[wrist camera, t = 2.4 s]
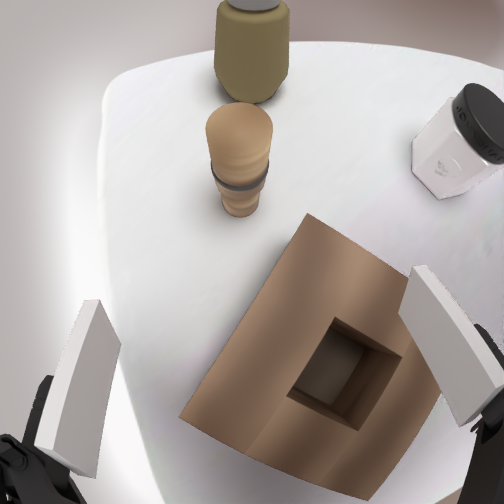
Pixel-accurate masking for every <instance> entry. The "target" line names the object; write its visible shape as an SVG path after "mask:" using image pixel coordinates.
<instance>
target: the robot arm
mask: <svg viewBox="0 0 504 504" xmlns="http://www.w3.org/2000/svg"><path fill="white" fill-rule="evenodd" d="M398 314H399V315H400V317H401V319H402V320H403V322H404V324H405V325H406V327H407V329H408V331H409V332H410V334H411V336H412V337H413V339H414V341H415V343H416V344H417V346H418V348H419V350H420V352H421V353H422V355H423V357H424V359H425V361H426V363H427V364H428V366H429V368H430V370H431V372H432V374H433V376H434V378H435V379H436V381H437V383H438V385H439V387H440V389H441V391H442V393H443V395H444V397H445V399H446V401H447V403H448V405H449V407H450V409H451V412H452V414H453V416H454V418H455V420H456V422H457V424H458V427H461V426H463V425H465V424H467V423H469V422H471V421H473V420H474V419H475V418H476V417H477V416H478V415H479V414H480V413H481V415H482V418H481V419H480V420H479V421H478V422H477V423H476V424H475V425H474V426H473V427H472V428H471V431H470V432H473V431H474V430H475V429H476V428H478V430H477V431H476V432H475V433H476V434H477V437H476V441H475V446H474V450H473V454H472V458H471V462H470V465H469V469H468V472H467V476H466V479H465V482H464V485H463V488H462V491H461V494H460V497H459V500H458V503H457V504H504V356H503V354H502V352H501V351H500V349H499V350H498V347H497V345H496V344H495V342H493V339H492V338H491V336H490V335H489V334H488V332H487V331H486V330H485V329H484V328H482V327H481V326H480V325H479V324H474V325H473V324H472V323H471V321H470V320H469V318H468V317H467V316H466V314H465V313H464V312H463V310H462V309H461V308H460V306H459V305H458V304H457V302H456V301H455V300H454V299H453V297H452V296H451V295H450V293H449V292H448V291H447V290H446V288H445V287H444V286H443V285H442V283H441V282H440V281H439V280H438V279H437V277H436V276H435V275H434V274H433V272H432V271H431V270H430V269H429V268H428V267H427V265H420V266H413V267H412V270H411V273H410V277H409V280H408V283H407V287H406V290H405V293H404V296H403V299H402V303H401V306H400V309H399V312H398ZM120 347H121V343H120V341H119V339H118V337H117V335H116V333H115V331H114V329H113V327H112V325H111V323H110V321H109V318H108V316H107V314H106V312H105V310H104V308H103V306H102V304H101V301H100V300H85V301H84V302H83V305H82V307H81V309H80V312H79V314H78V316H77V318H76V321H75V323H74V326H73V328H72V330H71V333H70V335H69V338H68V340H67V343H66V345H65V348H64V351H63V353H62V356H61V359H60V361H59V364H58V367H57V369H56V372H55V375H54V376H51V375H47V376H46V377H45V378H44V380H43V381H42V382H41V384H40V386H39V388H38V391H37V394H36V399H35V400H34V403H33V409H31V413H30V416H29V419H28V423H27V426H26V430H25V433H24V437H23V440H22V443H20V442H19V441H18V440H16V439H15V438H14V437H12V436H11V435H9V434H3V435H0V504H87V503H86V501H85V499H84V498H83V496H82V495H81V493H80V491H79V489H78V488H77V486H76V484H75V483H74V481H73V480H72V479H71V477H70V476H69V473H70V470H71V471H72V472H74V473H76V474H77V475H80V476H85V477H90V478H95V479H96V473H97V466H98V457H99V451H100V445H101V438H102V432H103V426H104V421H105V415H106V410H107V405H108V399H109V395H110V390H111V385H112V380H113V376H114V372H115V368H116V363H117V359H118V355H119V351H120ZM6 494H7V495H8V499H9V500H8V501H7V497H6Z"/></svg>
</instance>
